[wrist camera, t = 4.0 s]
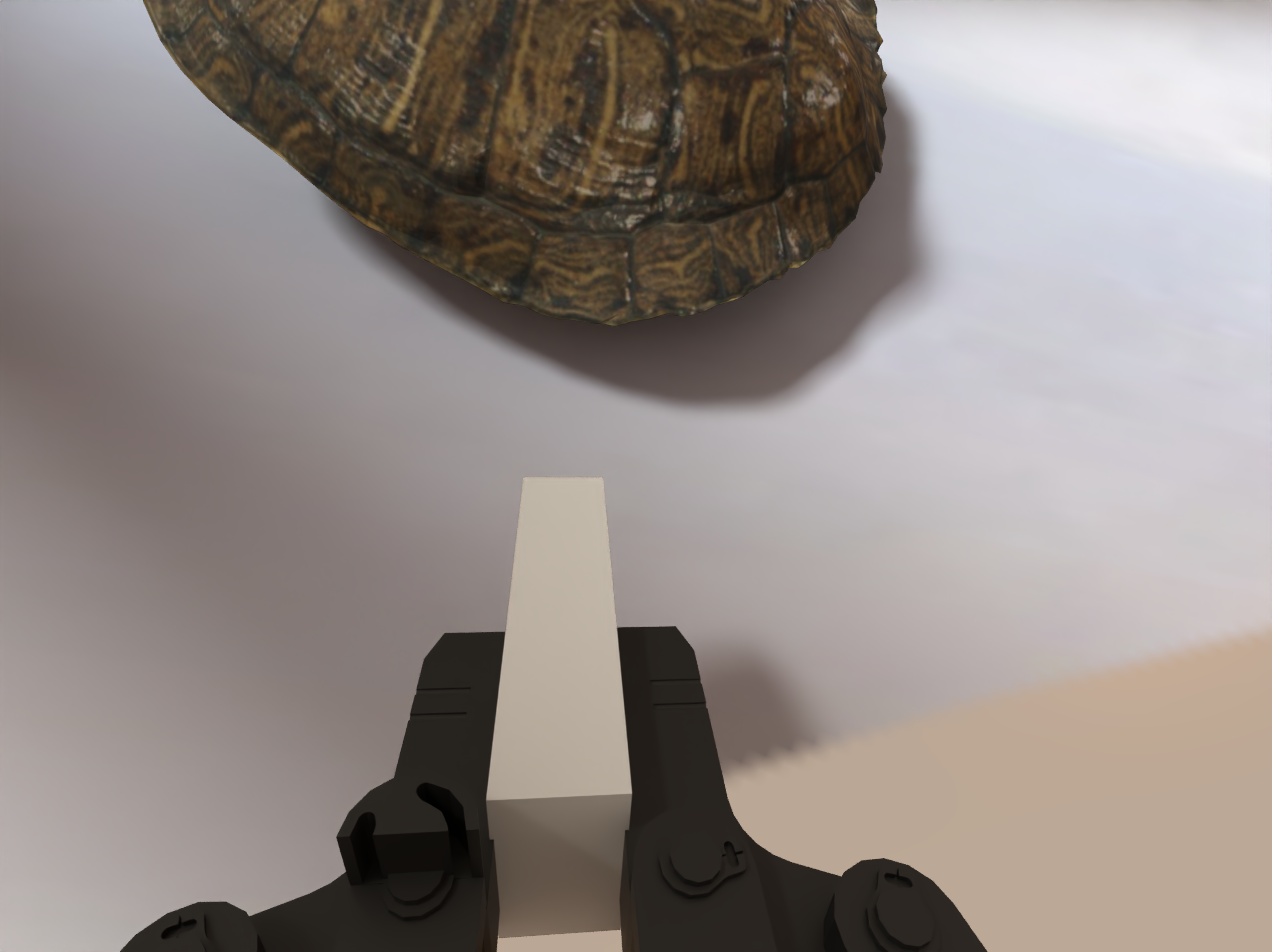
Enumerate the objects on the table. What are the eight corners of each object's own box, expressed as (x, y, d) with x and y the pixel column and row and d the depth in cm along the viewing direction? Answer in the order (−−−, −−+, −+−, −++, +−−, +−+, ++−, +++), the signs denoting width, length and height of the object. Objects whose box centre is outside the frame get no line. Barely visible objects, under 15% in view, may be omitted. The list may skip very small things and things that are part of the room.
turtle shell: (857, 388, 14) (-218, -236, 10) (698, 462, 22) (91, 142, 18) (1047, -125, 18) (335, -694, 14) (851, 106, 26) (378, -212, 23)
